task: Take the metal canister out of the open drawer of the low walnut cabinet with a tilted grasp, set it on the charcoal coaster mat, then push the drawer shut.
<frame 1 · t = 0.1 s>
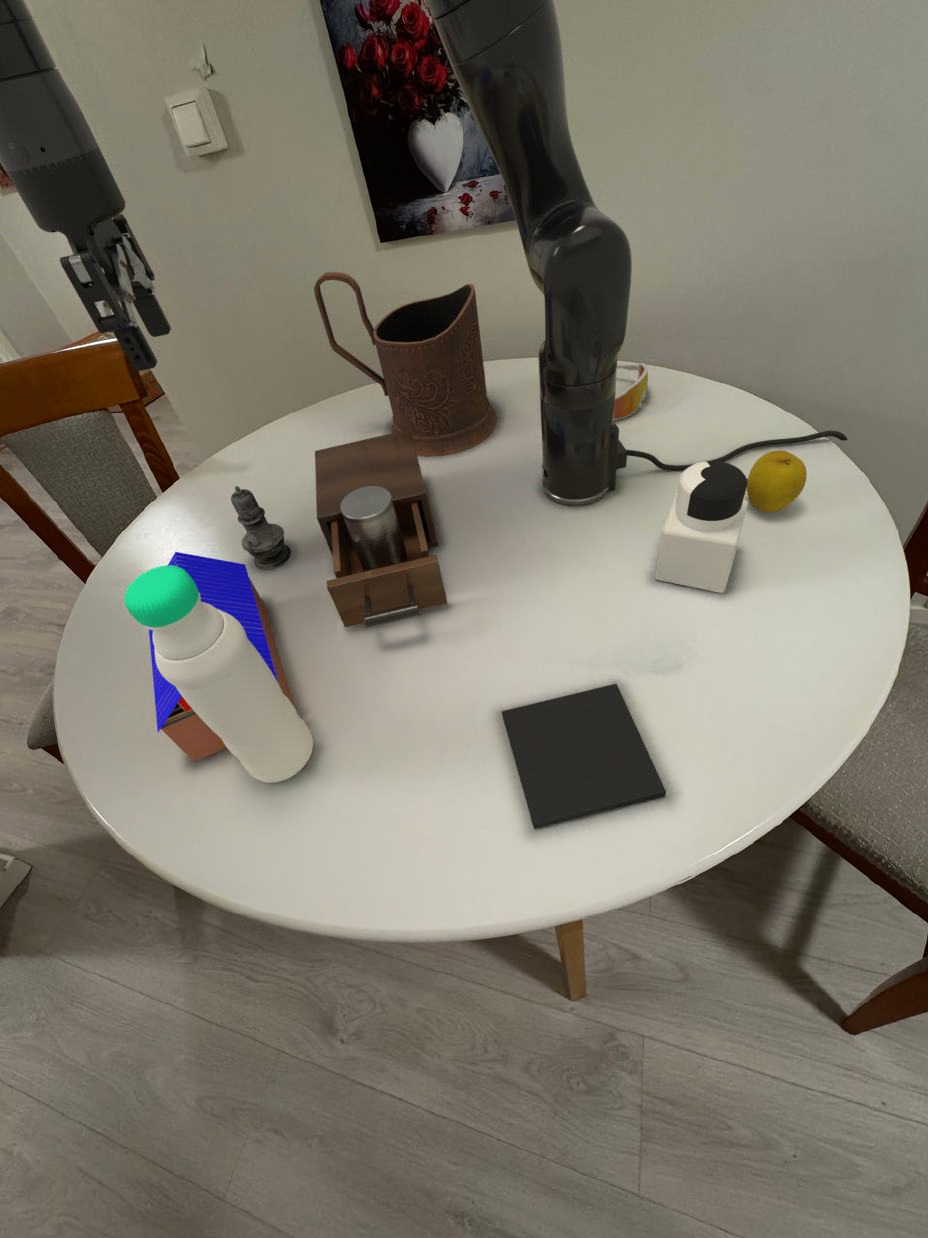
hand: (155, 350, 60), 29 cm above the table, tool pointing down, fingers open, 8 cm apart
house: (233, 675, 68), on the table, touching water bottle
brown embossed pitcher: (427, 427, 99), on the table
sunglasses: (600, 401, 97), on the table
stone chess piece: (273, 557, 82), on the table
drawer: (385, 566, 70), point 4 cm above the table, slide at 10.5 cm, touching metal canister
container: (694, 566, 70), on the table
metal canister: (388, 572, 73), point 2 cm above the table, touching drawer
apple: (767, 507, 75), on the table
cabinet: (382, 522, 83), on the table
water bottle: (282, 754, 60), on the table, touching house
coaster mat: (578, 753, 55), on the table
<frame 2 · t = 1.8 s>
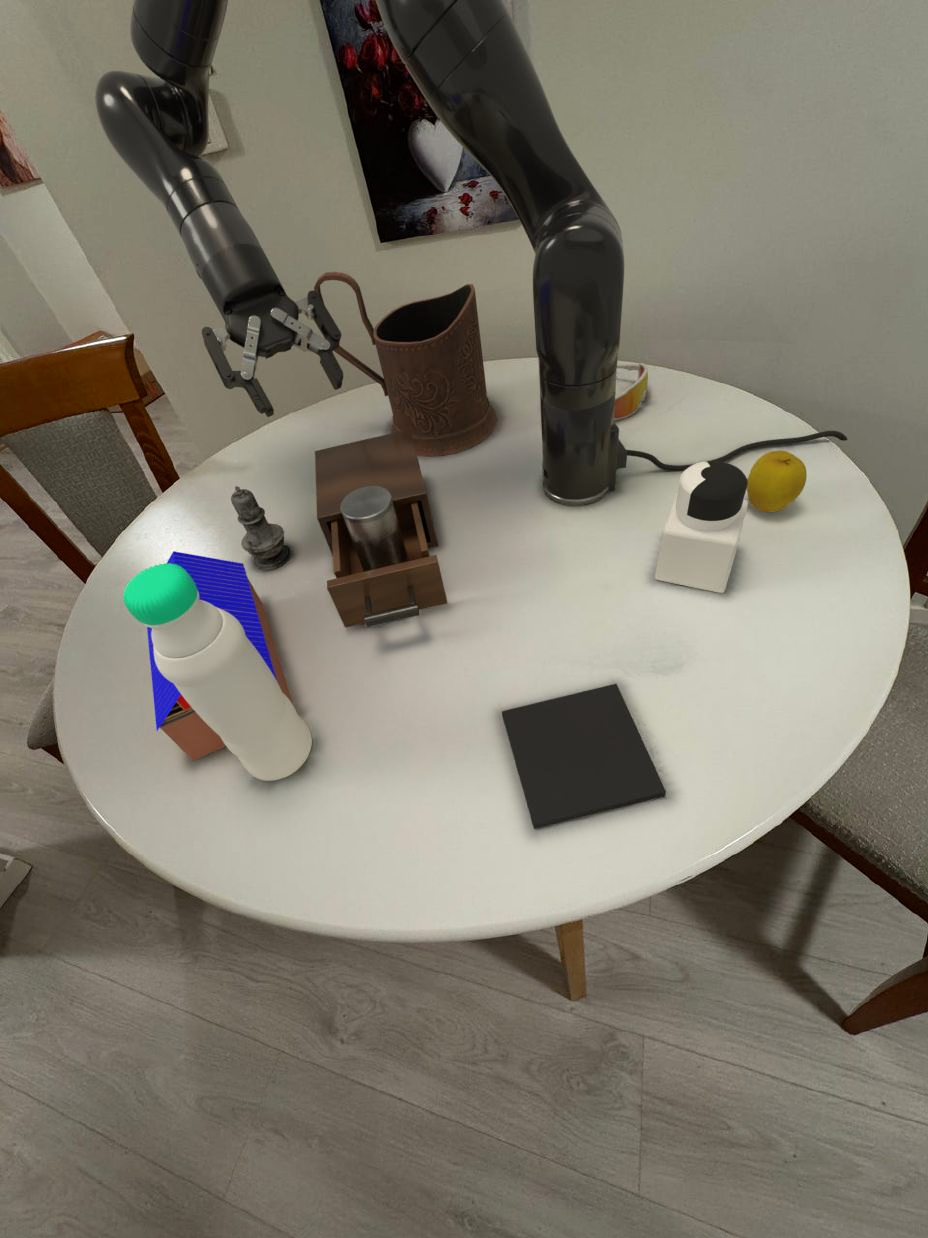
hand: (305, 399, 66), 21 cm above the table, tool tilted 45°, fingers open, 8 cm apart
water bottle: (281, 752, 60), on the table, touching house
everything else where it was.
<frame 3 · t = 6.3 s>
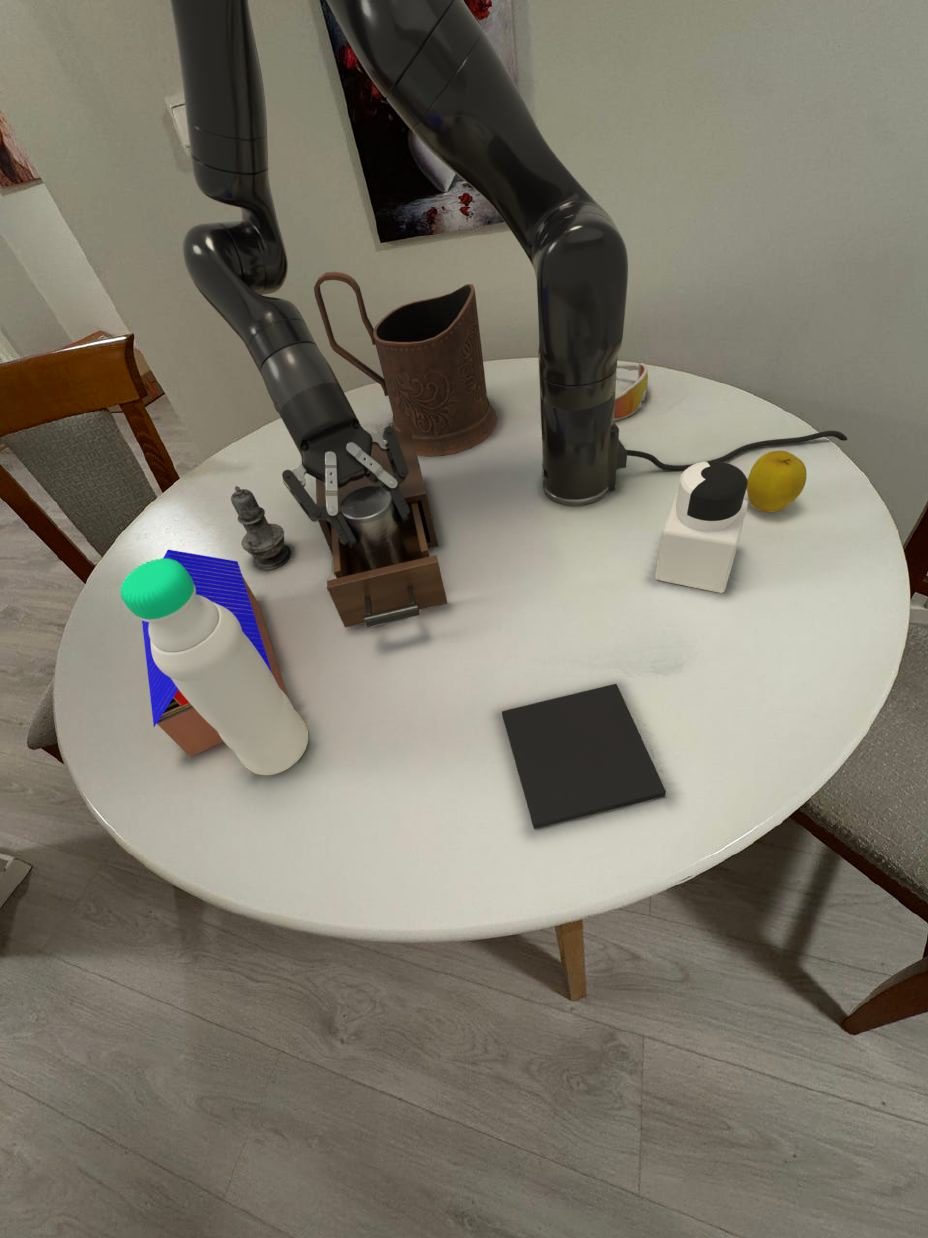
hand: (379, 533, 66), 10 cm above the table, tool tilted 45°, fingers closed on metal canister, 6 cm apart
metal canister: (388, 572, 73), point 2 cm above the table, touching drawer, gripper
water bottle: (278, 747, 61), on the table, touching house
when the fingers open (9 cm above the table, at t = 17.3 s): metal canister stays where it is, resting on coaster mat.
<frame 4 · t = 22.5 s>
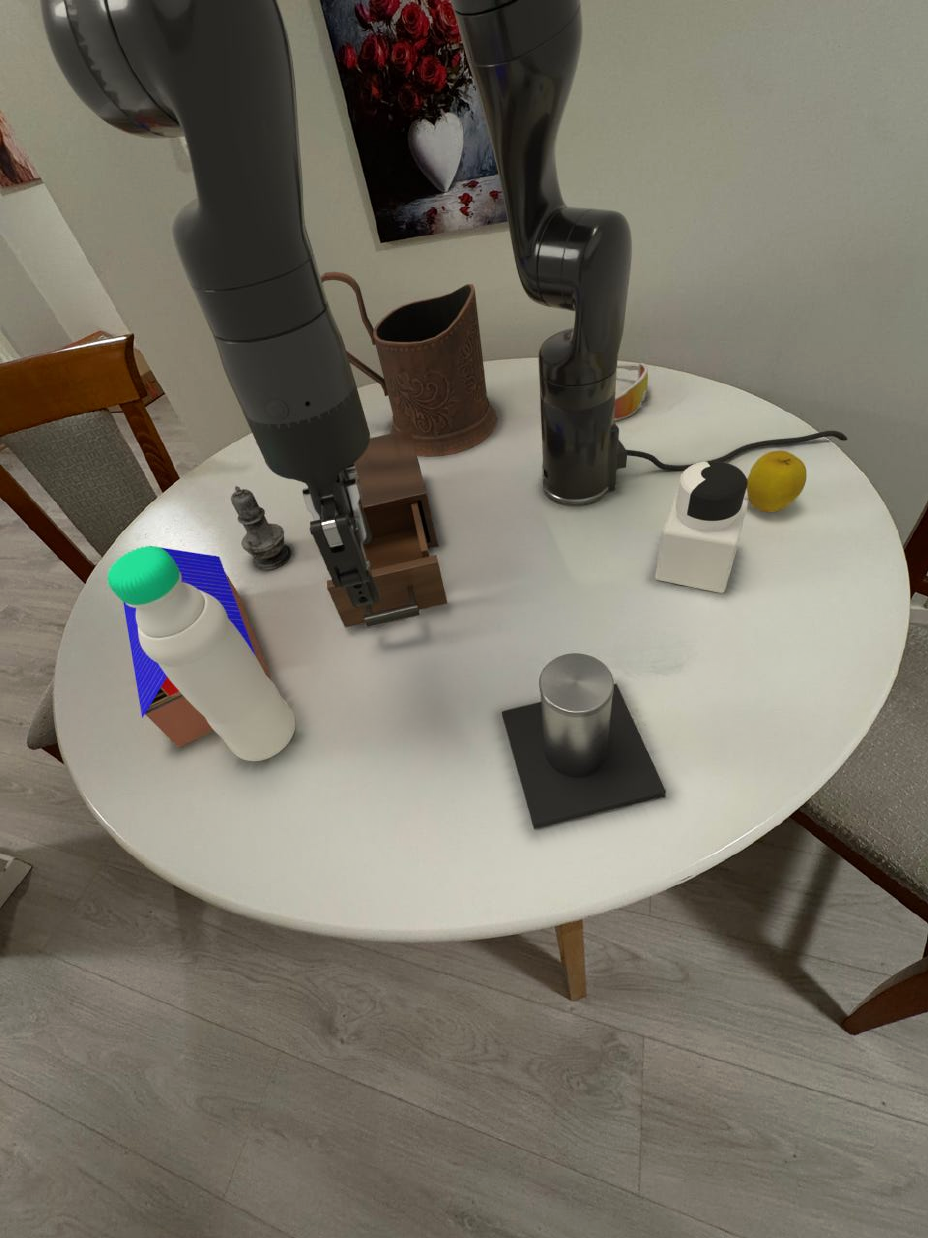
hand: (363, 570, 50), 18 cm above the table, tool pointing down, fingers open, 7 cm apart
house: (213, 664, 70), on the table, touching water bottle
drawer: (385, 566, 70), point 4 cm above the table, slide at 10.5 cm
metal canister: (575, 748, 55), point 1 cm above the table, touching coaster mat
water bottle: (265, 734, 62), on the table, touching house
everything else where it was.
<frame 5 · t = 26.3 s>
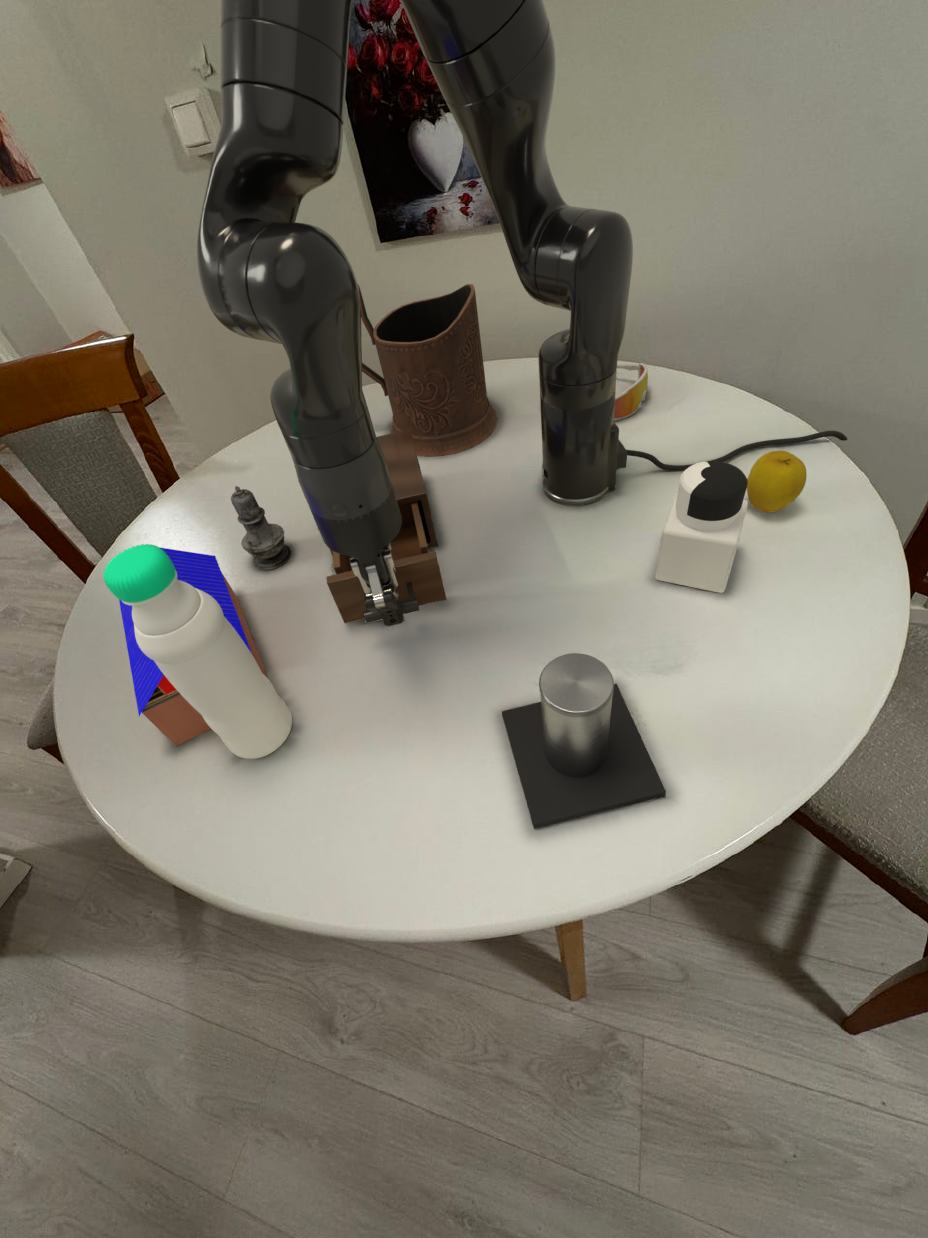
hand: (394, 619, 64), 5 cm above the table, tool pointing down, fingers closed
drawer: (384, 562, 71), point 4 cm above the table, slide at 9.8 cm, touching gripper
water bottle: (262, 732, 62), on the table, touching house
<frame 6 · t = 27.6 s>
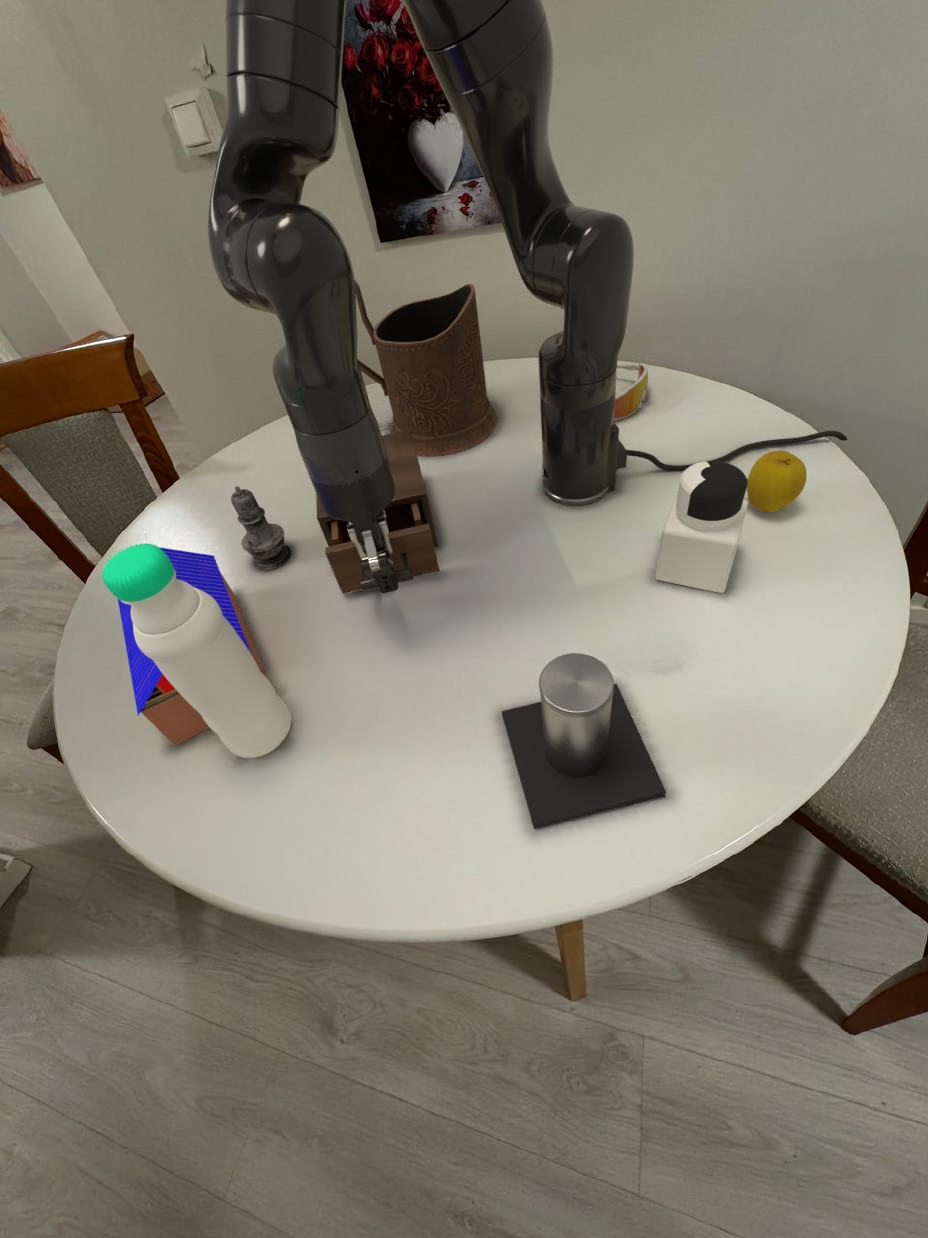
hand: (389, 587, 67), 5 cm above the table, tool pointing down, fingers closed
drawer: (380, 536, 74), point 4 cm above the table, slide at 4.6 cm, touching gripper
everything else where it was.
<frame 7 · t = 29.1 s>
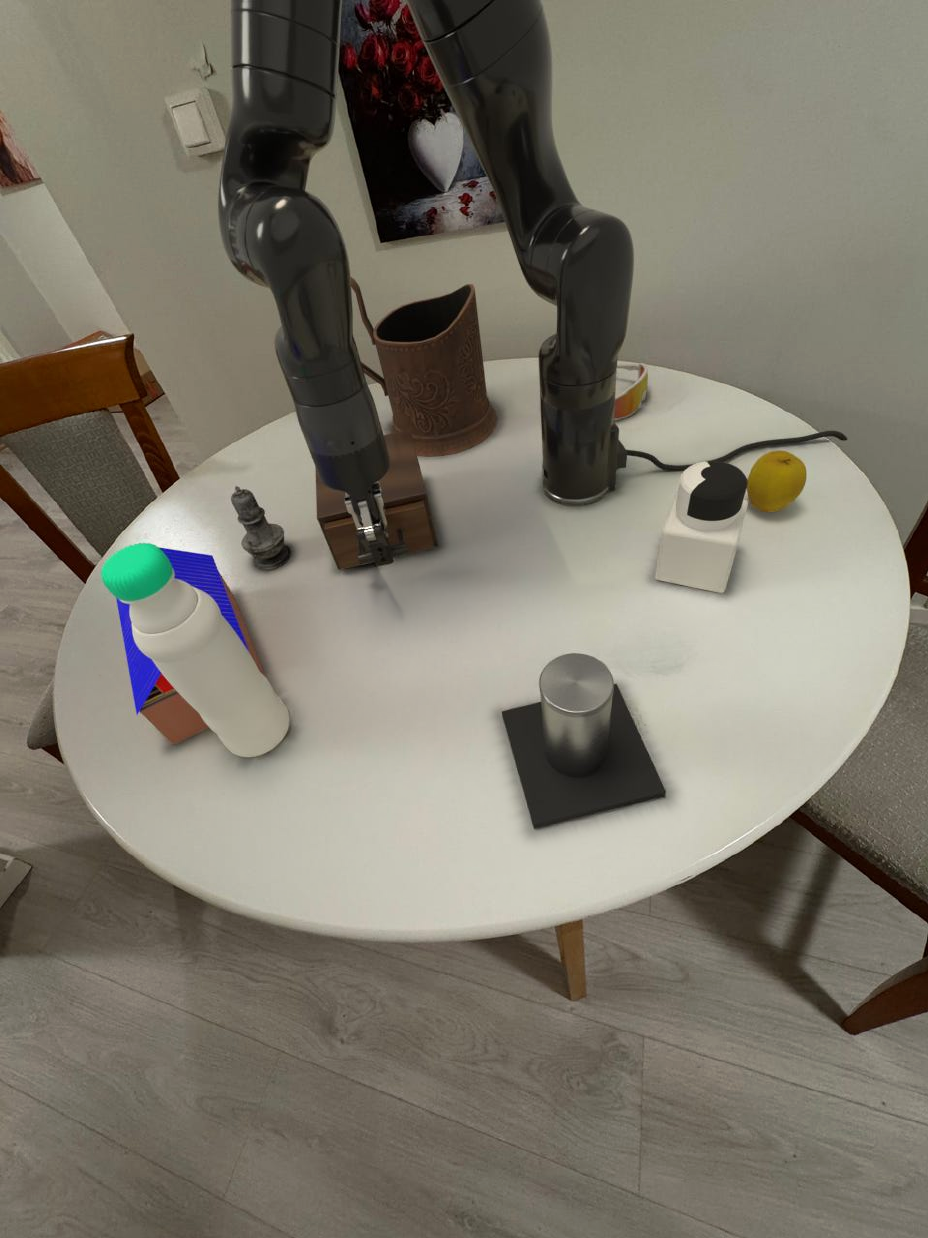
hand: (384, 560, 70), 5 cm above the table, tool pointing down, fingers closed
drawer: (377, 514, 77), point 4 cm above the table, slide at 0.0 cm, touching cabinet, gripper
everything else where it was.
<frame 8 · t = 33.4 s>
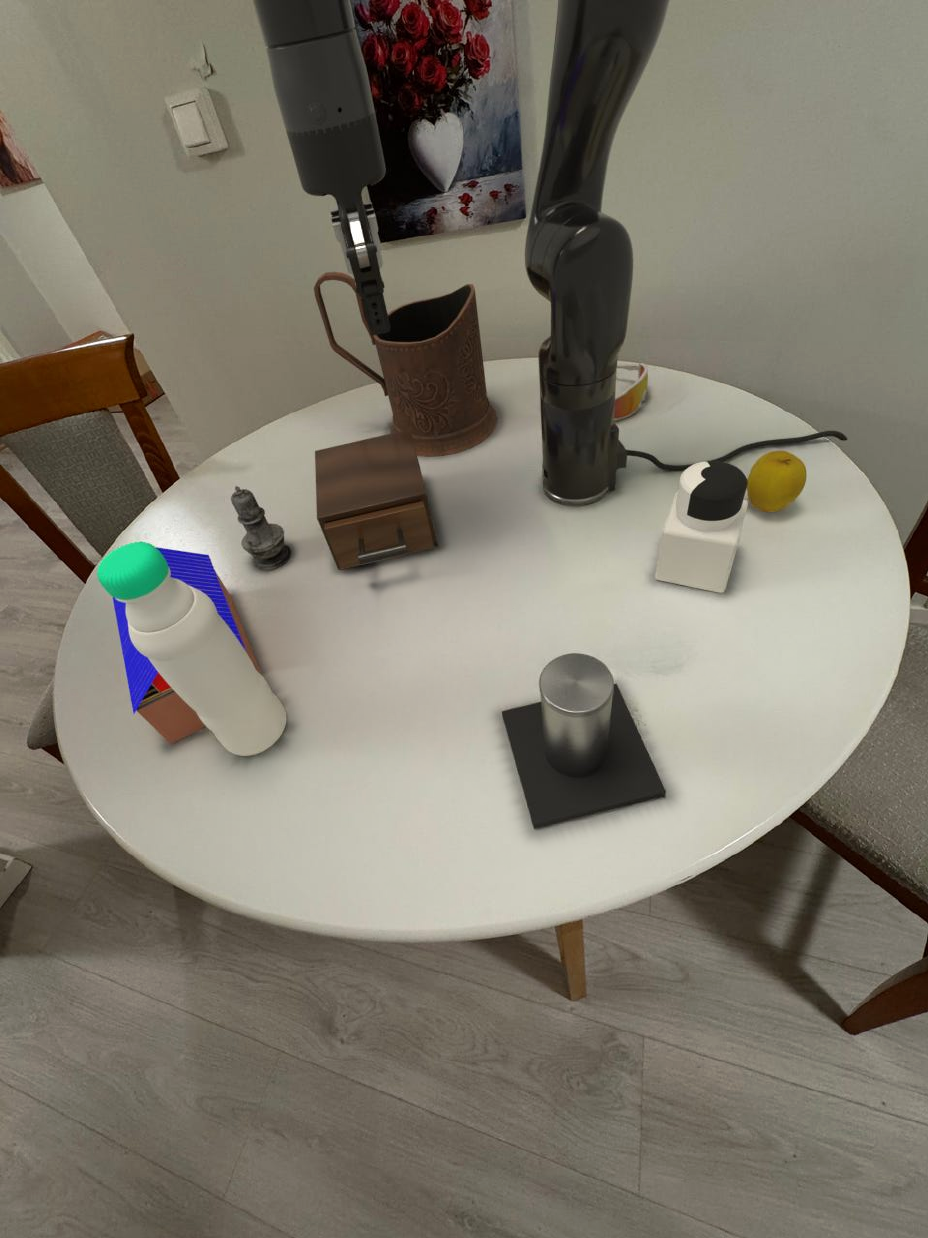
hand: (380, 330, 61), 27 cm above the table, tool pointing down, fingers closed
drawer: (377, 514, 77), point 4 cm above the table, slide at 0.0 cm, touching cabinet
at the end: metal canister inside the target area on the coaster mat (0.2 cm from its centre), point 1.0 cm above the coaster mat's base; metal canister tilted 0°; drawer slide at 0.0 cm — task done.
